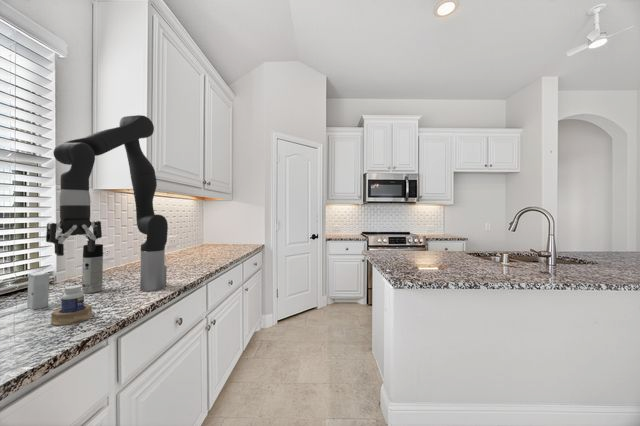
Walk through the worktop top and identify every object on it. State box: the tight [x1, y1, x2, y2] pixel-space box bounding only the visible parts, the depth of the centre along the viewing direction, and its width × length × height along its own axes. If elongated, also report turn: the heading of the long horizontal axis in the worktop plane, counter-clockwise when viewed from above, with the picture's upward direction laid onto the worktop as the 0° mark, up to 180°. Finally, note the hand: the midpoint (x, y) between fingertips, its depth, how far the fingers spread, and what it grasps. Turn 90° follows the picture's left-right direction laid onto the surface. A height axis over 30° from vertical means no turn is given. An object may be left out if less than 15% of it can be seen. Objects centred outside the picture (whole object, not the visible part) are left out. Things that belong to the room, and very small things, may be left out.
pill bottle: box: [60, 284, 85, 313], centre depth 89 cm, size 5×5×10 cm
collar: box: [50, 303, 93, 326], centre depth 89 cm, size 10×10×3 cm
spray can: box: [81, 243, 104, 295], centre depth 118 cm, size 7×7×20 cm
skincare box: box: [26, 270, 51, 310], centre depth 99 cm, size 6×4×12 cm
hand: (76, 253), depth 91 cm, fingers open, 8 cm apart
